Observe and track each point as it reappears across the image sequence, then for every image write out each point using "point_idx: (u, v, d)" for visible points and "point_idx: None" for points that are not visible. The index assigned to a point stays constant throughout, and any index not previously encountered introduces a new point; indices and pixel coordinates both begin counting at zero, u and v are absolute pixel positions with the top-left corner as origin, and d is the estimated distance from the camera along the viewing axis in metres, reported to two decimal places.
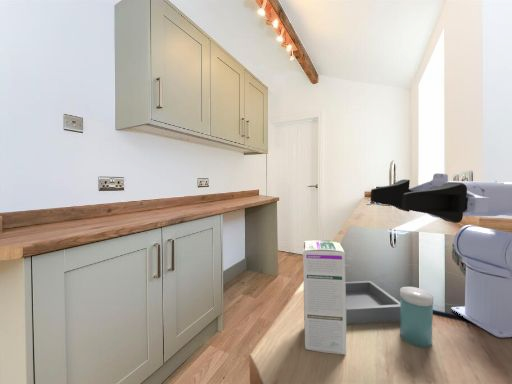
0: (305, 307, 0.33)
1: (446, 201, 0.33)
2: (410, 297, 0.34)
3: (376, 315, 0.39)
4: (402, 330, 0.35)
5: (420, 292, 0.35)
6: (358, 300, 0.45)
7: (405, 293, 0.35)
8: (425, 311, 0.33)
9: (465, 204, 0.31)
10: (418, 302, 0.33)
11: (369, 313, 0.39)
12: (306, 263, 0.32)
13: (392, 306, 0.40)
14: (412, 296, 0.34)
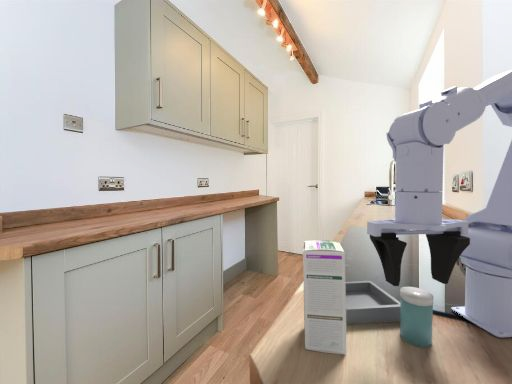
0: (305, 307, 0.33)
1: None
2: (410, 297, 0.34)
3: (376, 315, 0.39)
4: (402, 330, 0.35)
5: (420, 292, 0.35)
6: (358, 300, 0.45)
7: (405, 293, 0.35)
8: (425, 311, 0.33)
9: None
10: (418, 302, 0.33)
11: (369, 313, 0.39)
12: (306, 263, 0.32)
13: (392, 306, 0.40)
14: (412, 296, 0.34)
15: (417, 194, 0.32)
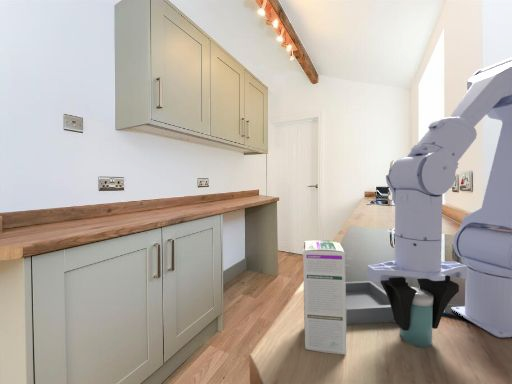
0: (305, 307, 0.33)
1: None
2: None
3: (376, 315, 0.39)
4: (402, 330, 0.35)
5: (420, 292, 0.35)
6: (358, 300, 0.45)
7: None
8: (425, 311, 0.33)
9: None
10: (418, 302, 0.33)
11: (369, 313, 0.39)
12: (306, 263, 0.32)
13: None
14: None
15: (416, 242, 0.32)
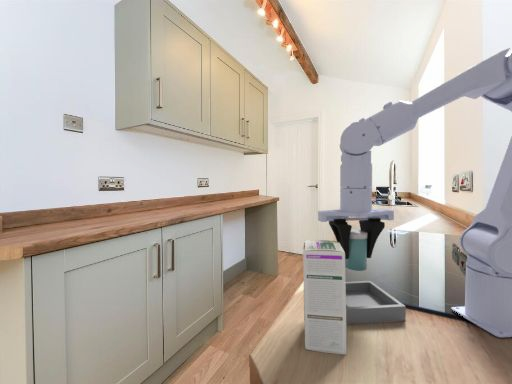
0: (305, 307, 0.33)
1: None
2: (350, 234, 0.45)
3: (376, 315, 0.39)
4: (345, 261, 0.46)
5: (359, 231, 0.46)
6: (358, 300, 0.45)
7: None
8: (360, 243, 0.44)
9: None
10: (355, 236, 0.44)
11: (369, 313, 0.39)
12: (306, 263, 0.32)
13: (392, 306, 0.40)
14: (351, 233, 0.45)
15: (352, 190, 0.43)
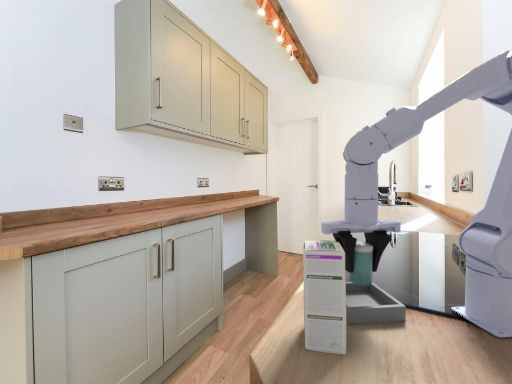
0: (305, 307, 0.33)
1: None
2: (355, 246, 0.43)
3: (376, 315, 0.39)
4: (350, 274, 0.44)
5: (364, 244, 0.44)
6: (358, 300, 0.45)
7: None
8: (365, 256, 0.42)
9: None
10: (360, 250, 0.42)
11: (369, 313, 0.39)
12: (306, 263, 0.32)
13: (392, 306, 0.40)
14: (356, 246, 0.43)
15: (357, 201, 0.41)
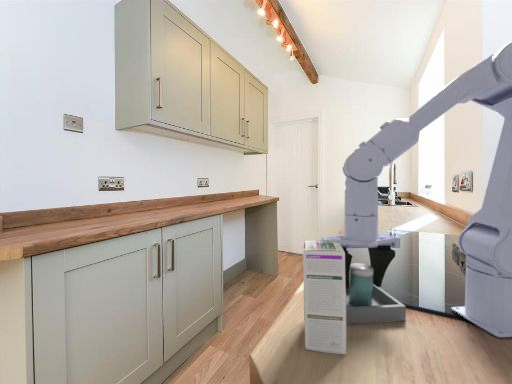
0: (305, 307, 0.33)
1: None
2: (355, 270, 0.43)
3: (376, 315, 0.39)
4: (350, 297, 0.44)
5: (364, 267, 0.44)
6: None
7: (352, 267, 0.44)
8: (366, 281, 0.42)
9: None
10: (361, 274, 0.42)
11: (369, 313, 0.39)
12: (306, 263, 0.32)
13: (392, 306, 0.40)
14: (357, 269, 0.43)
15: (357, 217, 0.42)
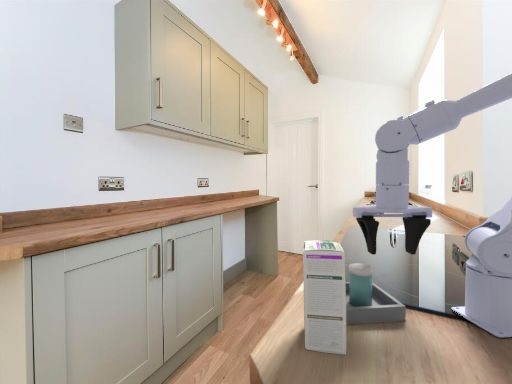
0: (305, 307, 0.33)
1: None
2: (354, 270, 0.43)
3: (376, 315, 0.39)
4: (350, 297, 0.44)
5: (364, 266, 0.44)
6: None
7: (351, 267, 0.44)
8: (365, 280, 0.42)
9: None
10: (360, 273, 0.42)
11: (369, 313, 0.39)
12: (306, 263, 0.32)
13: (392, 306, 0.40)
14: (356, 269, 0.43)
15: (388, 187, 0.44)
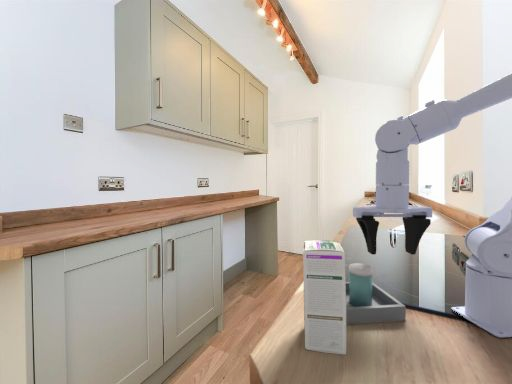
0: (305, 307, 0.33)
1: None
2: (354, 270, 0.43)
3: (376, 315, 0.39)
4: (350, 297, 0.44)
5: (364, 266, 0.44)
6: None
7: (351, 267, 0.44)
8: (365, 280, 0.42)
9: None
10: (360, 273, 0.42)
11: (369, 313, 0.39)
12: (306, 263, 0.32)
13: (392, 306, 0.40)
14: (356, 269, 0.43)
15: (388, 187, 0.44)
